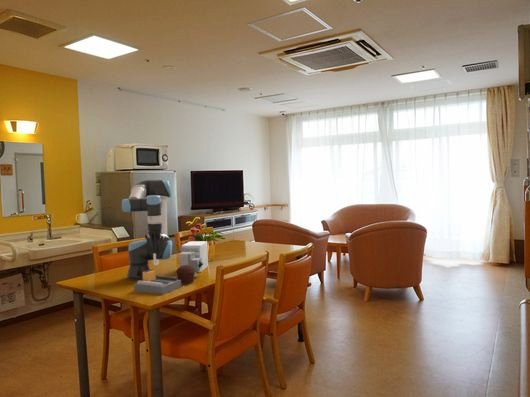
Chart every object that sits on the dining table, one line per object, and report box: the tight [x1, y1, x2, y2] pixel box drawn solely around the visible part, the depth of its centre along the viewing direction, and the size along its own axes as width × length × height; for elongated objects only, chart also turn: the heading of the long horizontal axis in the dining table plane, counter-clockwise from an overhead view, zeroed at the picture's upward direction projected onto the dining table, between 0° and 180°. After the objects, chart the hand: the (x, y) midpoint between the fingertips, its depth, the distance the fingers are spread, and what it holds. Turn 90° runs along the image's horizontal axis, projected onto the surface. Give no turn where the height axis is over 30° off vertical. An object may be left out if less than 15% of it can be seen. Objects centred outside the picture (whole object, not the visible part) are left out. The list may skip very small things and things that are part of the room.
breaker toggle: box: [142, 268, 156, 281], centre depth 229 cm, size 4×6×6 cm, turn 155°
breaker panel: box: [133, 274, 182, 295], centre depth 226 cm, size 20×16×6 cm
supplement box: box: [180, 240, 209, 273], centre depth 274 cm, size 17×13×18 cm
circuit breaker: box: [177, 252, 203, 277], centre depth 254 cm, size 8×14×15 cm, turn 78°
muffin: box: [175, 265, 196, 285], centre depth 240 cm, size 12×11×10 cm
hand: (156, 264), depth 226 cm, fingers closed
